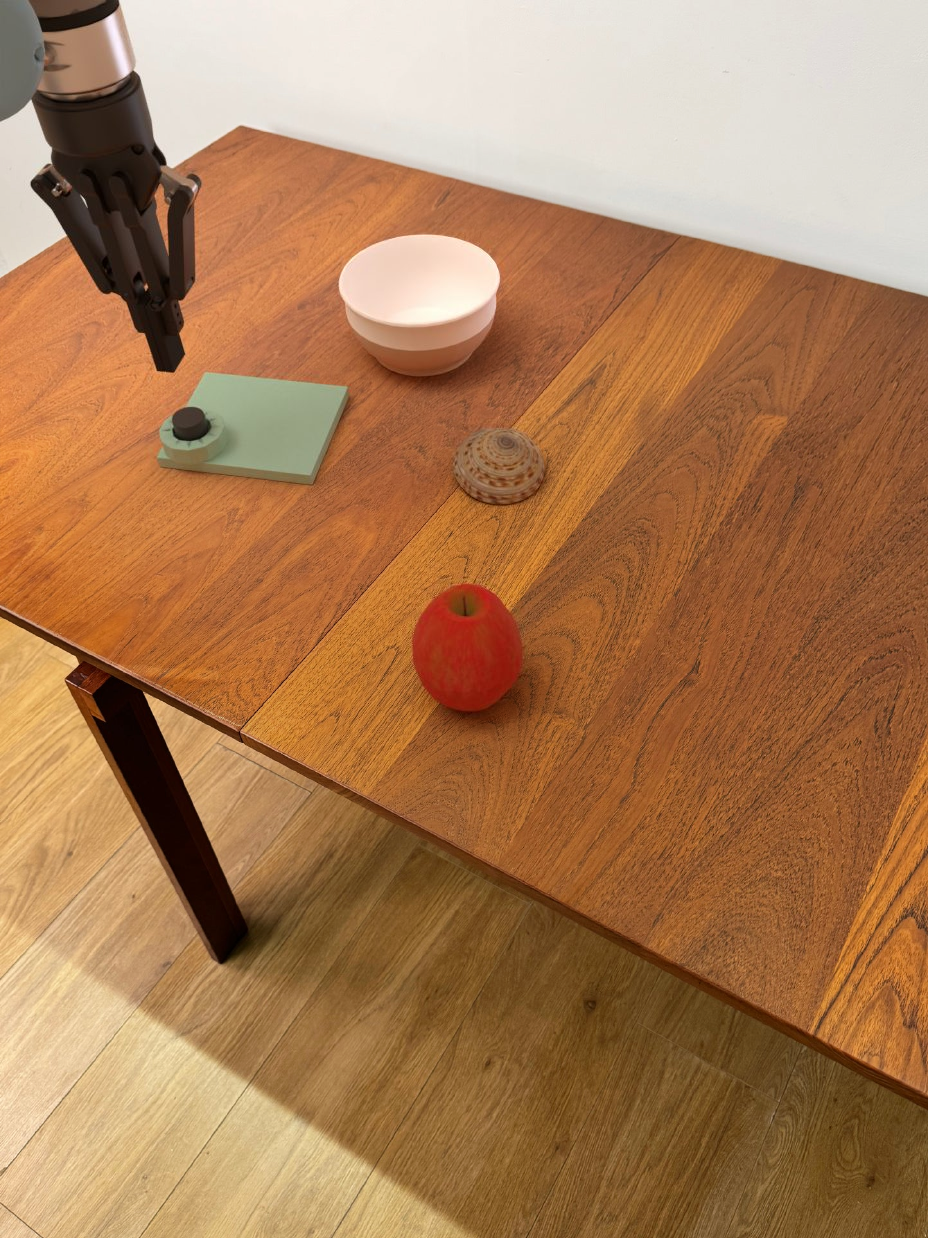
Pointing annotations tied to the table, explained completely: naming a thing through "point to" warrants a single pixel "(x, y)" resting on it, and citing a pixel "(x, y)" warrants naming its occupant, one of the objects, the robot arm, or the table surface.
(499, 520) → the table surface
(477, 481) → the seashell
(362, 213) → the table surface
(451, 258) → the bowl
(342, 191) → the table surface
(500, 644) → the apple
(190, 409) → the button
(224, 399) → the scale
